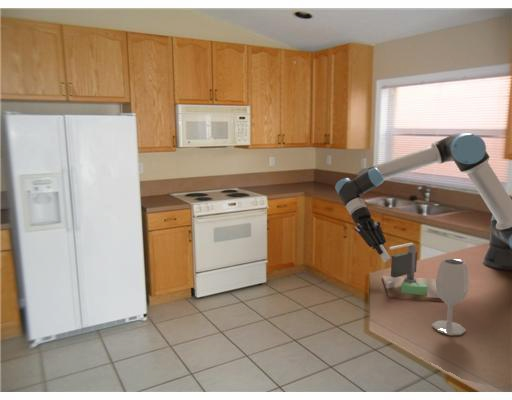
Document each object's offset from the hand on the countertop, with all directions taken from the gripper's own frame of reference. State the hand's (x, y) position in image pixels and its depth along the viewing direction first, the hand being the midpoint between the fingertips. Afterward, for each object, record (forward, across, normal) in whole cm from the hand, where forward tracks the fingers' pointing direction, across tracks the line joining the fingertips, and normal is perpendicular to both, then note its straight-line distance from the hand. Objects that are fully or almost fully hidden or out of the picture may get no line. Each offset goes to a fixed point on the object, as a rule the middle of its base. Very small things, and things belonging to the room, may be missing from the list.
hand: (387, 260), depth 159 cm
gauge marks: (+14, +3, +3) cm, 14 cm away
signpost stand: (+10, -1, -1) cm, 10 cm away
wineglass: (+32, +15, +20) cm, 41 cm away
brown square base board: (+13, -3, +1) cm, 14 cm away
